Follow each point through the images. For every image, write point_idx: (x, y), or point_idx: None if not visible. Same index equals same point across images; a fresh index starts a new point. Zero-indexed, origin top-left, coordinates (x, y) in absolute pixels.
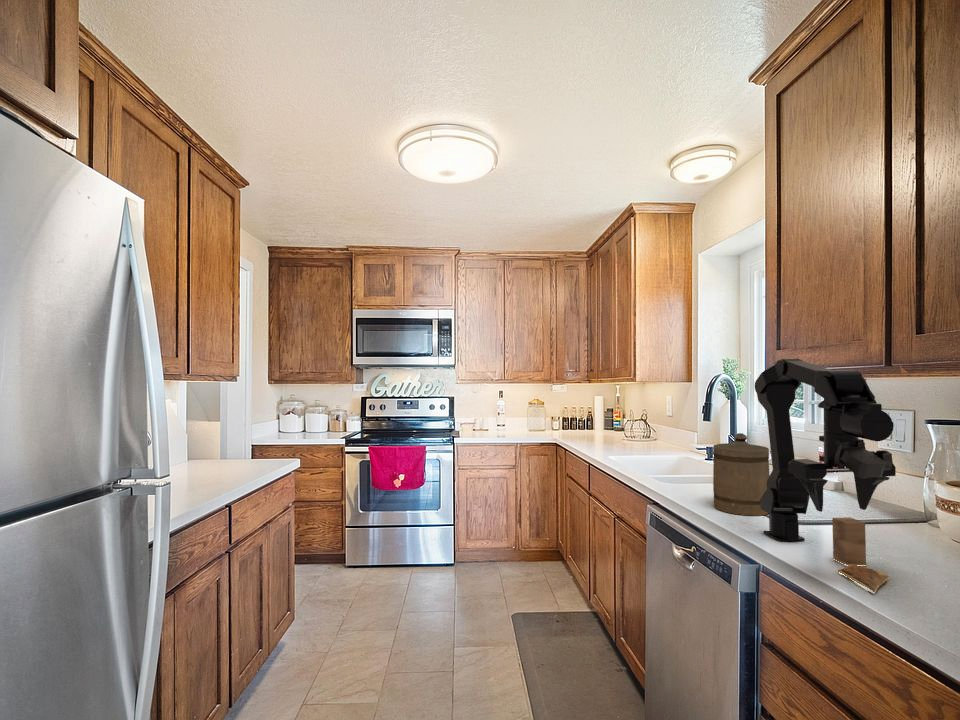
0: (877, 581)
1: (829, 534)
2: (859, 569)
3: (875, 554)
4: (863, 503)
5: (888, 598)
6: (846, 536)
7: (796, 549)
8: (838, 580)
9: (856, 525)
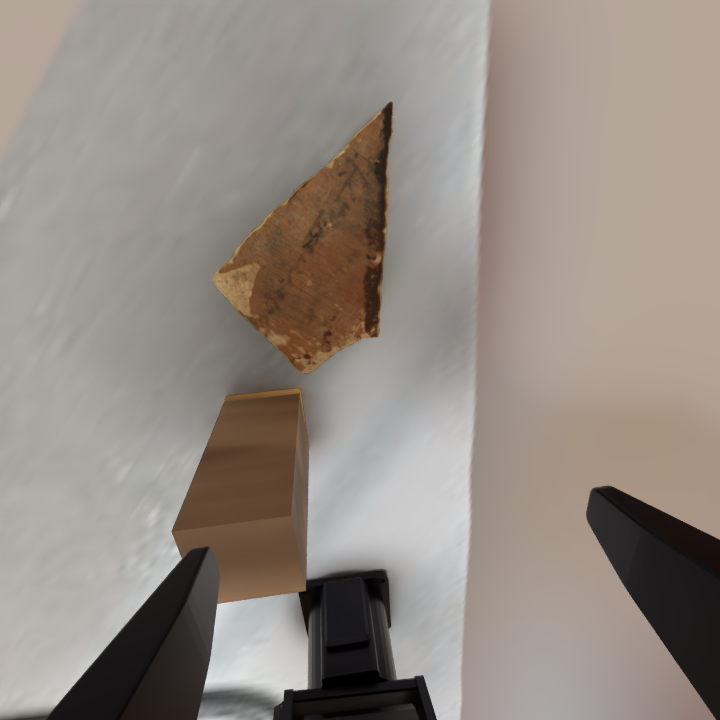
0: (312, 198)
1: None
2: (308, 319)
3: (124, 499)
4: (193, 603)
5: (346, 71)
6: (295, 465)
7: (372, 520)
8: (419, 267)
9: (231, 512)
